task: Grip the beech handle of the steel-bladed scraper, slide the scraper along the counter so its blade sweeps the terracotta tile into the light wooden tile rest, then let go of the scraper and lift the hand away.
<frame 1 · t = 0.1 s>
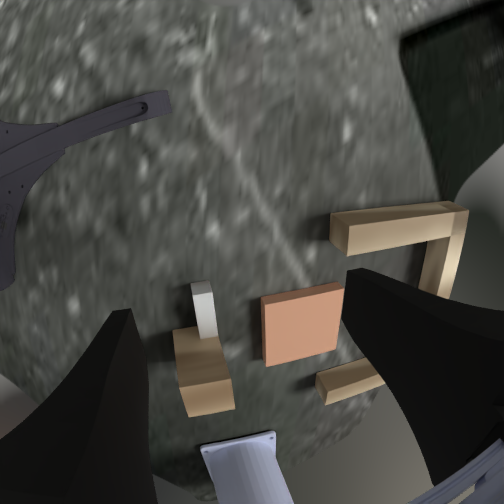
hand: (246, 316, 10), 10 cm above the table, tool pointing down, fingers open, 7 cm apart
terracotta tile: (297, 318, 25), on the table
tile rest: (393, 298, 26), on the table
scraper: (208, 340, 23), on the table
bracket: (50, 145, 15), on the table
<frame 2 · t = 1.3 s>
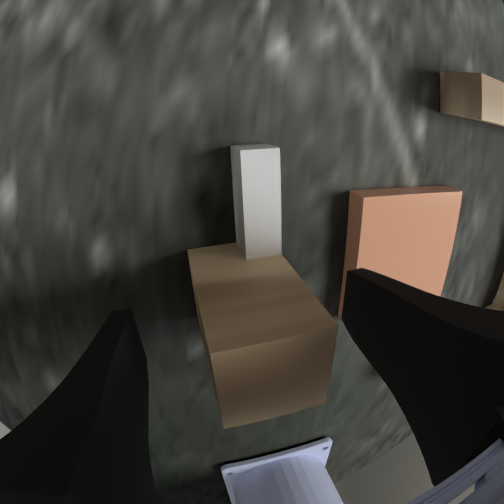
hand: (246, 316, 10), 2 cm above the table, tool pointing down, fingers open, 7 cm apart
terracotta tile: (391, 245, 14), on the table
tile rest: (496, 229, 16), on the table
scraper: (253, 275, 13), on the table
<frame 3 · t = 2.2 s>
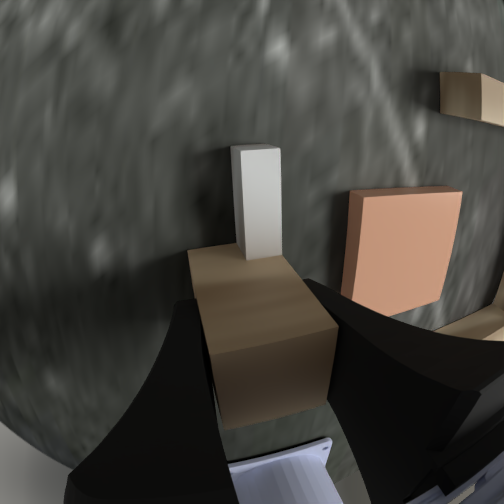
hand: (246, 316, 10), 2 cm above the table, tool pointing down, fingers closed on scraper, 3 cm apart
terracotta tile: (391, 245, 14), on the table
tile rest: (496, 229, 16), on the table
scraper: (254, 276, 12), on the table, touching gripper
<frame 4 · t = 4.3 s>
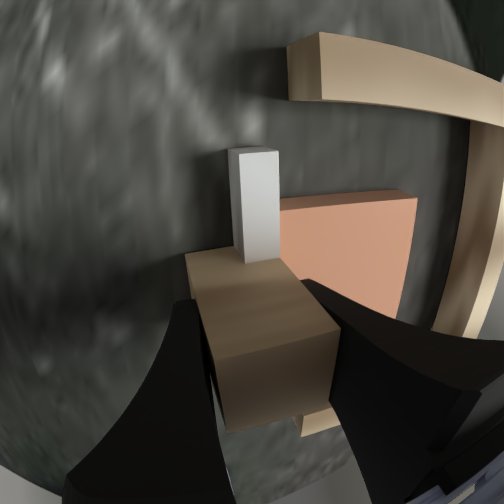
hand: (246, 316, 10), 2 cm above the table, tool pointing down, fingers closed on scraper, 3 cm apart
terracotta tile: (332, 260, 13), on the table, touching scraper
tile rest: (419, 246, 14), on the table
scraper: (251, 278, 12), on the table, touching gripper, terracotta tile
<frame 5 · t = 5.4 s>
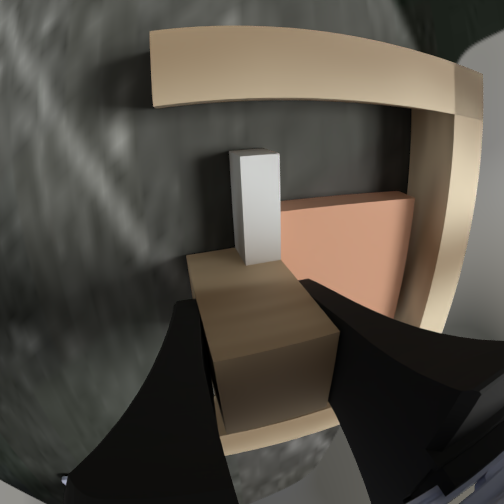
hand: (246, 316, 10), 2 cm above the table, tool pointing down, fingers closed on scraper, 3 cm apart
terracotta tile: (331, 260, 14), on the table
tile rest: (346, 259, 13), on the table
scraper: (252, 280, 13), on the table, touching gripper
when the fingers open (2 cm above the table, at t = 6.6 s): scraper stays where it is, on the table.
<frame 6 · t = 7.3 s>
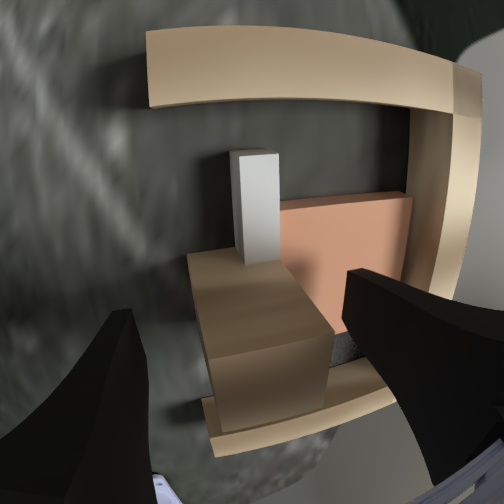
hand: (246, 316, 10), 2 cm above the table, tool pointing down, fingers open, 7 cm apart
terracotta tile: (330, 259, 14), on the table
tile rest: (345, 260, 13), on the table
scraper: (252, 279, 13), on the table
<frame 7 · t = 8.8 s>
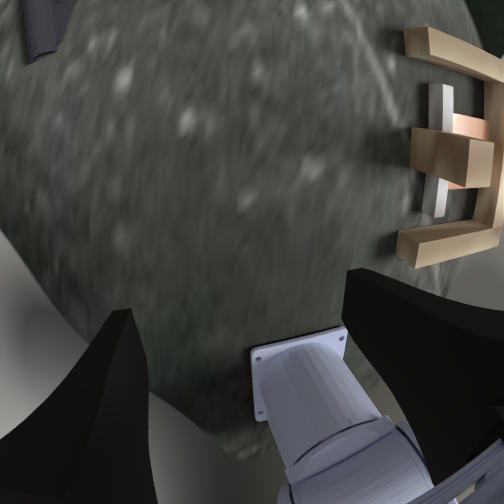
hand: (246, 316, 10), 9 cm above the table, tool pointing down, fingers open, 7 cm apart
terracotta tile: (456, 149, 22), on the table
tile rest: (463, 149, 21), on the table
scraper: (432, 148, 20), on the table
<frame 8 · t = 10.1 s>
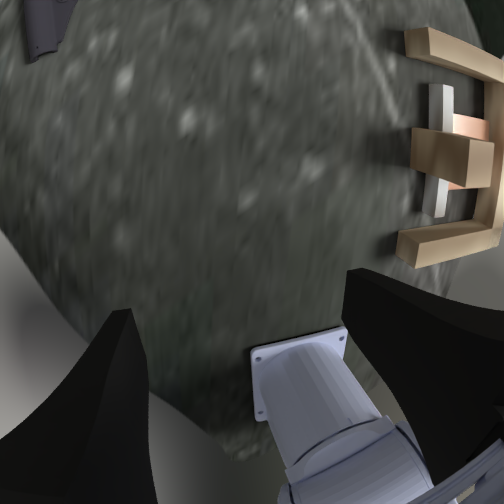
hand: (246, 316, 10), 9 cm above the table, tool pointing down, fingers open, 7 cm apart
terracotta tile: (456, 149, 22), on the table
tile rest: (463, 149, 21), on the table
scraper: (432, 148, 20), on the table
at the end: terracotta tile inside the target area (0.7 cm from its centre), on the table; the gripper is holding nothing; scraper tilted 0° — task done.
